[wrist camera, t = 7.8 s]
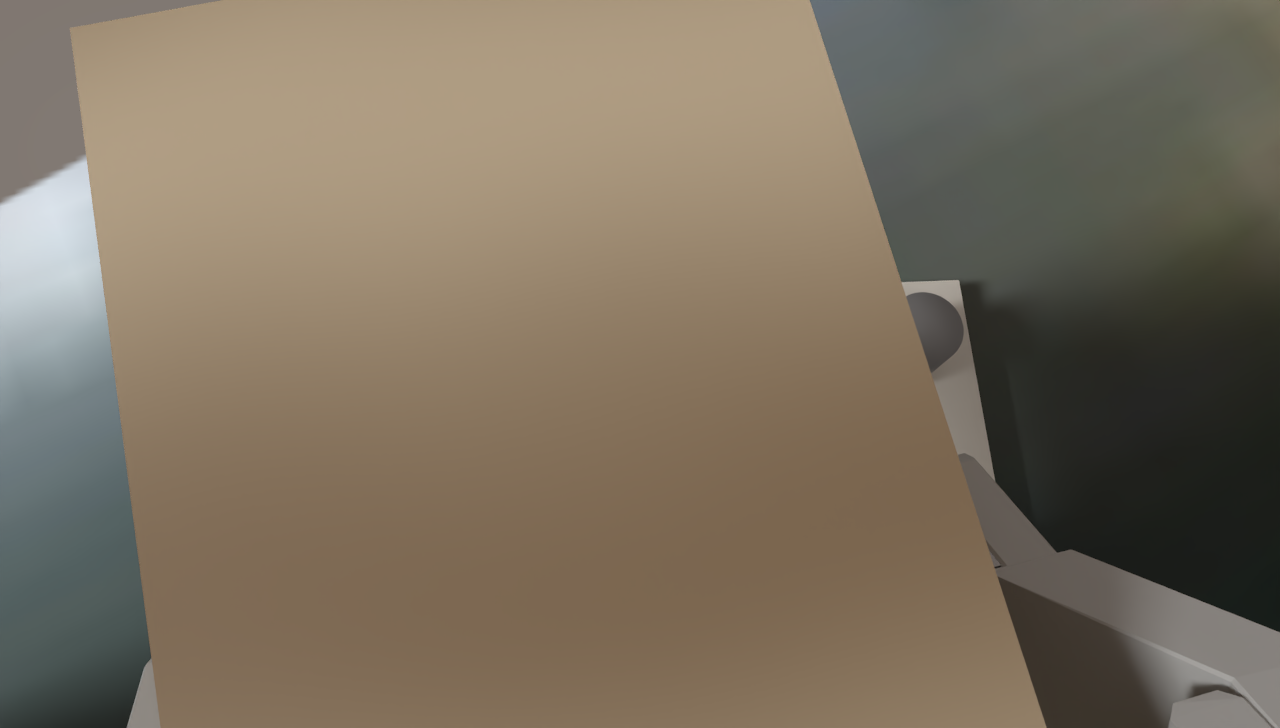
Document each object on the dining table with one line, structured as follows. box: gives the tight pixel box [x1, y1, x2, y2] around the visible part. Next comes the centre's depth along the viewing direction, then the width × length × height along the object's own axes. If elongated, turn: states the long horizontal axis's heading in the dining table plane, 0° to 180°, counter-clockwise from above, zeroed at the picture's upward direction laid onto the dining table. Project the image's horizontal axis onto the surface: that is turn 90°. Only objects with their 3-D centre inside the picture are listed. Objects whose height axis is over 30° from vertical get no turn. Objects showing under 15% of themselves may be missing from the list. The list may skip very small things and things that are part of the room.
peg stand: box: [901, 280, 995, 481], centre depth 28 cm, size 12×8×4 cm, turn 4°
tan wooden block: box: [70, 0, 1047, 728], centre depth 10 cm, size 10×5×9 cm, turn 14°
